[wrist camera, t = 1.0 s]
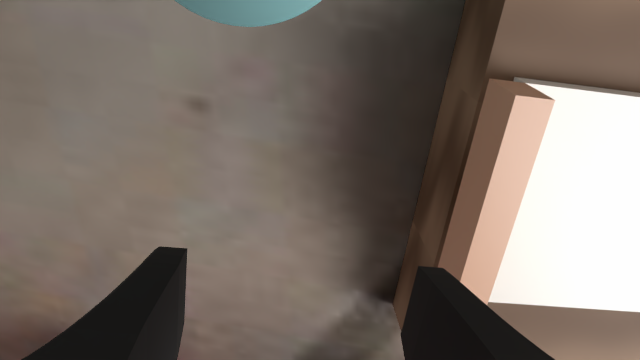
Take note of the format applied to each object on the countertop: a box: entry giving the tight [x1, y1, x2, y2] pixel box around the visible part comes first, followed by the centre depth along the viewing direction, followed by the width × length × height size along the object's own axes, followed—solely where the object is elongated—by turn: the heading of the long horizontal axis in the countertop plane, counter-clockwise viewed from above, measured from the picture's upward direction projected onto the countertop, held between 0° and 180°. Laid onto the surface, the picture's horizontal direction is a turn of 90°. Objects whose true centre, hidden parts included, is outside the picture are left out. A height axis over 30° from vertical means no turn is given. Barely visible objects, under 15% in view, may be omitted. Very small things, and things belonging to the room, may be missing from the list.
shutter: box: [438, 77, 640, 312], centre depth 18 cm, size 9×9×3 cm
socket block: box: [393, 0, 640, 360], centre depth 22 cm, size 16×16×4 cm
